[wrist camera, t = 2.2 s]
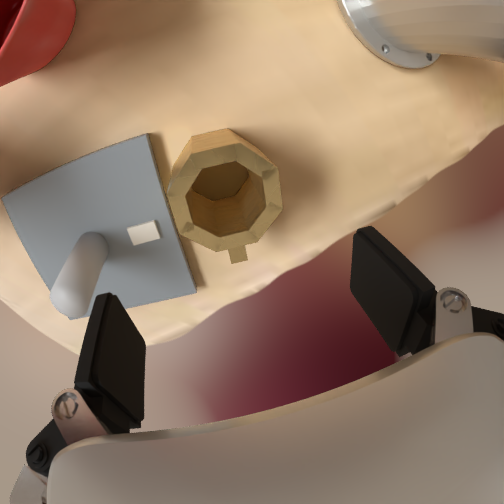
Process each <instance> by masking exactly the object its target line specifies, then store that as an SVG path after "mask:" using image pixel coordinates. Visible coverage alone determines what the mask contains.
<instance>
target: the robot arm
mask: <svg viewBox="0 0 504 504" xmlns="http://www.w3.org/2000/svg"><path fill="white" fill-rule="evenodd" d="M337 2H338V5H339V8H340V11H341V13H342V15H343V17H344V19H345V21H346V23H347V24H348V26H349V27H350V29H351V30H352V31H353V33H354V34H355V36H356V37H357V38H358V39H359V40H360V41H361V42H362V43H363V45H364V46H365V47H367V48H368V49H369V50H370V51H371V52H372V53H374V54H375V55H376V56H378V57H379V58H381V59H383V60H384V61H386V62H388V63H390V64H393V65H395V66H399V67H403V68H414V69H415V68H424V67H426V66H429V65H431V64H432V63H433V62H435V61H436V60H437V59H438V58H439V56H440V55H441V54H448V55H459V56H467V57H475V58H481V59H487V60H493V61H498V62H503V63H504V0H337ZM352 252H353V253H352V267H351V280H350V289H351V292H352V294H353V295H354V297H355V298H356V300H357V301H358V302H359V304H360V305H361V307H362V308H363V310H364V311H365V312H366V314H367V315H368V317H369V318H370V320H371V321H372V323H373V324H374V325H375V327H376V328H377V330H378V331H379V333H380V334H381V335H382V337H383V339H384V340H385V342H386V343H387V345H388V346H389V348H390V349H391V351H393V352H395V351H396V353H397V354H398V356H399V357H401V356H403V355H405V354H407V353H409V352H411V354H412V356H410V357H408V358H406V359H404V360H402V361H400V362H397V363H395V364H393V365H391V366H389V367H386V368H384V369H382V370H380V371H378V372H375V373H373V374H371V375H369V376H366V377H364V378H361V379H359V380H357V381H354V382H352V383H349V384H346V385H344V386H341V387H339V388H336V389H333V390H330V391H328V392H325V393H322V394H320V395H317V396H313V397H310V398H307V399H305V400H301V401H298V402H295V403H291V404H288V405H285V406H281V407H278V408H274V409H270V410H267V411H263V412H259V413H255V414H251V415H246V416H242V417H238V418H233V419H229V420H224V421H218V422H213V423H208V424H202V425H196V426H189V427H183V428H175V429H167V430H158V431H149V432H138V433H130V429H134V428H141V421H142V420H143V419H144V379H145V354H146V345H145V341H144V339H143V337H142V336H141V334H140V333H139V331H138V330H137V328H136V327H135V325H134V323H133V322H132V320H131V318H130V317H129V315H128V313H127V312H126V310H125V308H124V307H123V305H122V303H121V302H120V300H119V298H118V297H117V295H113V294H112V293H111V292H108V293H104V294H99V295H97V296H96V298H95V301H94V304H93V308H92V311H91V315H90V318H89V322H88V325H87V329H86V333H85V336H84V340H83V344H82V348H81V353H80V357H79V361H78V366H77V371H76V376H75V381H74V383H75V387H74V389H71V388H67V389H64V390H62V391H61V392H59V393H58V394H57V395H56V397H55V398H54V400H53V402H52V406H51V413H52V416H53V419H52V421H51V422H50V423H49V424H48V425H47V426H46V427H45V428H44V429H43V430H42V431H41V432H40V433H39V434H38V435H37V436H36V437H35V438H34V439H33V440H32V441H31V442H30V444H29V445H28V447H27V450H26V459H27V463H28V466H27V465H25V464H24V467H23V468H22V471H21V472H20V475H19V477H18V479H17V481H16V483H15V485H14V488H13V490H12V492H11V495H10V504H504V314H502V313H498V312H494V311H489V310H485V309H481V308H477V307H473V306H471V303H470V300H469V298H468V297H467V295H466V294H465V293H463V292H462V291H460V290H459V289H456V288H451V287H450V288H449V287H447V288H443V289H442V290H440V291H439V292H437V291H436V290H435V286H434V285H433V284H432V283H431V282H430V281H429V280H428V278H426V277H425V275H424V274H423V273H422V272H421V271H420V270H419V269H418V268H416V266H415V265H413V264H412V263H411V262H410V261H409V260H408V259H407V258H406V257H405V256H404V255H403V254H402V253H401V252H400V251H399V250H398V249H397V248H396V247H395V246H394V245H392V244H391V243H390V242H389V241H388V240H387V239H386V238H385V237H384V236H382V235H381V234H380V233H379V232H378V231H377V230H376V229H375V228H374V227H372V226H368V227H364V228H360V229H358V230H357V232H356V234H354V236H353V251H352Z"/></svg>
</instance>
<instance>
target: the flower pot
mask: <svg viewBox="0 0 504 504" xmlns="http://www.w3.org/2000/svg"><path fill="white" fill-rule="evenodd" d="M75 14H76V7H75V3H74V0H0V87H1V86H3V85H5V84H8V83H10V82H12V81H14V80H17V79H19V78H21V77H24V76H26V75H28V74H31V73H33V72H36V71H38V70H39V69H41V68H43V67H44V66H46V65H47V64H48V63H49V62H50V61H51V60H53V59H54V57H55V56H56V55H57V54H58V53H59V52H60V51H61V49H62V48H63V47H64V45H65V44H66V42H67V40H68V39H69V36H70V34H71V32H72V29H73V26H74V23H75Z"/></svg>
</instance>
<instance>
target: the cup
mask: <svg viewBox="0 0 504 504" xmlns="http://www.w3.org/2000/svg"><path fill="white" fill-rule="evenodd" d="M234 161H236V162H238V163H240V164H241V165H243V166H244V167H246V168H247V171H248V176H249V177H248V178H247V180H246V181H245V183H244V184H243V185H242V187H241V188H240V189H239V191H238V192H237V194H236V195H235V196H231V197H227V198H223V199H218V200H214V201H212V200H210V199H208V198H206V197H204V196H202V195H201V194H199V193H197V192H195V191H193V190H192V187H191V185H192V184H193V182H194V181H195V179H196V178H197V176H198V175H199V173H200V172H201V170H202V169H203V168H207V167H211V166H216V165H220V164H224V163H229V162H234ZM167 197H168V201H169V204H170V207H171V210H172V213H173V216H174V220H175V223H176V226H177V229H178V232H179V234H180V235H182V236H184V237H186V238H188V239H190V240H193V241H195V242H197V243H199V244H201V245H203V246H205V247H207V248H209V249H211V250H213V251H215V252H218V251H223V250H227V249H228V251H229V255H230V259H231V263H232V264H234V263H238V262H242V261H246V260H248V259H247V254H246V249H245V245H247V244H252V243H256V242H258V241H259V239H260V238H261V237H262V236H263V234H264V233H265V232H266V230H267V229H268V228H269V227H270V225H271V224H272V223H273V221H274V220H275V219H276V218H277V216H278V215H279V214H280V212H281V211H282V210H283V205H282V197H281V188H280V180H279V172H278V168H277V167H276V166H275V165H274V164H273V163H272V162H271V161H270V160H269V159H268V158H267V157H266V156H265V155H264V154H263V153H262V152H261V151H260V150H259V149H258V148H257V147H255V146H254V145H252V144H251V143H249V142H248V141H246V140H245V139H243V138H242V137H240V136H239V135H237V134H236V133H234V132H232V131H231V130H229V129H228V128H227V129H223V130H218V131H213V132H209V133H204V134H200V135H196V136H192V137H191V138H190V140H189V142H188V143H187V145H186V146H185V148H184V149H183V151H182V153H181V154H180V156H179V157H178V159H177V161H176V162H175V164H174V165H173V168H172V172H171V176H170V181H169V185H168V189H167Z"/></svg>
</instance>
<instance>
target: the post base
mask: <svg viewBox="0 0 504 504" xmlns="http://www.w3.org/2000/svg"><path fill="white" fill-rule="evenodd" d="M1 199H2V201H3V203H4V206H5V208H6V210H7V213H8V215H9V217H10V219H11V222H12V224H13V226H14V228H15V230H16V232H17V234H18V236H19V238H20V240H21V242H22V244H23V246H24V248H25V250H26V251H27V253H28V255H29V257H30V259H31V261H32V262H33V264H34V266H35V267H36V269H37V271H38V273H39V274H40V276H41V278H42V279H43V281H44V282H45V284H46V286H47V287H48V289H49V290H50V300H51V302H52V304H53V306H54V307H55V308H56V309H57V310H58V311H59V312H60V313H62V314H64V315H66V316H67V317H68V318H69V319H70V320H73V319H78V318H83V317H88V316H90V315H91V311H92V308H93V304H94V301H95V298H96V296H97V295H99V294H104V293H108V292H111V293H112V294H113V295H117V297H118V298H119V300H120V302H121V303H122V305H123V307H124V308H125V309H127V308H131V307H136V306H141V305H145V304H150V303H154V302H159V301H163V300H168V299H172V298H177V297H181V296H185V295H190V294H194V293H197V289H196V284H195V281H194V278H193V276H192V273H191V270H190V267H189V265H188V262H187V259H186V256H185V253H184V250H183V247H182V244H181V241H180V239H179V236H178V233H177V230H176V226H175V223H174V220H173V217H172V214H171V211H170V208H169V205H168V201H167V198H166V195H165V192H164V188H163V185H162V182H161V178H160V175H159V171H158V168H157V164H156V161H155V157H154V154H153V150H152V146H151V143H150V139H149V135H148V133H146V134H143V135H140V136H137V137H134V138H131V139H128V140H125V141H122V142H119V143H116V144H113V145H111V146H108V147H105V148H102V149H100V150H97V151H95V152H92V153H90V154H87V155H85V156H82V157H80V158H78V159H75V160H73V161H71V162H68V163H66V164H64V165H62V166H59V167H57V168H55V169H53V170H51V171H49V172H47V173H45V174H43V175H41V176H39V177H37V178H35V179H33V180H31V181H29V182H27V183H25V184H23V185H21V186H20V187H18V188H16V189H14V190H12V191H11V192H9V193H7V194H6V195H5V196H3V197H2V198H1Z"/></svg>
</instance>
